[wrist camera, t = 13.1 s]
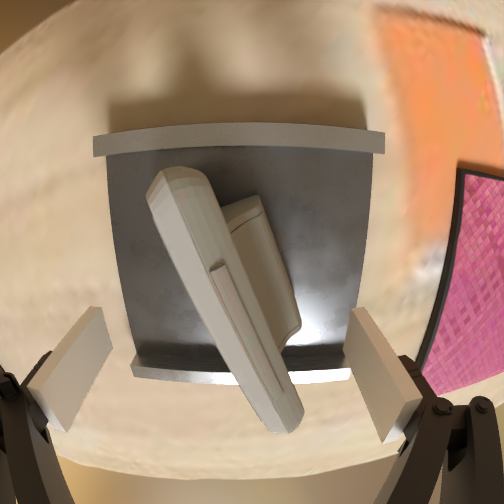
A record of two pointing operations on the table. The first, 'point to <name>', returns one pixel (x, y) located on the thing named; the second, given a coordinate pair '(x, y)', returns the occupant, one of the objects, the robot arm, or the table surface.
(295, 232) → the rail plate
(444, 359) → the laptop bag
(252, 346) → the digital clock
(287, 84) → the table surface
